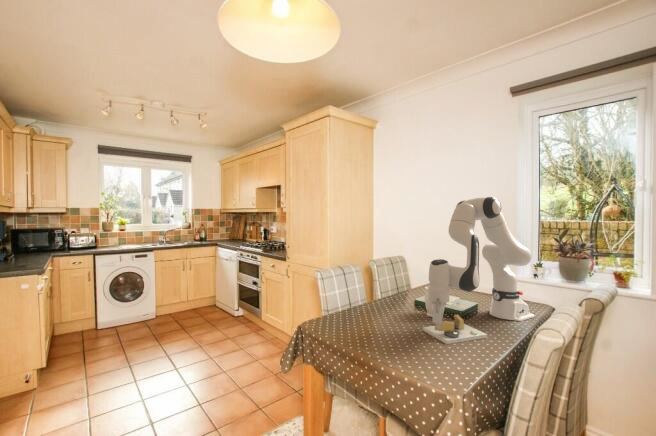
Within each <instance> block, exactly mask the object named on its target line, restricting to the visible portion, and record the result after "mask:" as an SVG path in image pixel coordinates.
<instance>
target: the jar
mask: <svg viewBox="0 0 656 436" xmlns="http://www.w3.org/2000/svg"><path fill="white" fill-rule="evenodd" d="M424 290H425V293H424V303H425V309H426V316H428V317H430V318H432V316H433V304H432V303H431V301H430V300H429V299H428V294H429V285H428V286H425V287H424Z"/></svg>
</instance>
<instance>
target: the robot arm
mask: <svg viewBox="0 0 656 436" xmlns="http://www.w3.org/2000/svg"><path fill="white" fill-rule="evenodd" d="M476 221H480V223H481V225H482V228H483V231H484V234H485V236H486V238H487V240H488V241H489V242H490V243H486V244H484V246H483V247H482V251H481V253H482V257H483V259H485V261H487V263H488V265H489V267H490V268H491V272H492V281H493V283H492V284H493V286H492V289H491V292H492V293H491V294H492V297H491V302H490V308H489V310H488V311H489V315H491V316H492V317H495V318H498V319H502V320H509V321H516V322H523V321H525V320H530V319H533V318H535V314H533V313H531V312H530V306H529V305H528V303H526V302H525V301H524V300H523V299H521V297H520V296H523V294H524V292H523V291H522V290H521V291H520V290H518V276H517V275H516V274H515V272H513V271H512V270H511V268H510V266H514V267H518V266H519V267H523V266H524V267H525V266H527V265H529V263H530V262H531V260H532V253H531V251H530V248H528V247H526V246H524V245H523V244H522V243H520V242H519V241H518V240H517V239H516V238H515V236H513V234H512V233H511V231H510V229H509V227H508V223H507V221H506V219H505V216H504V214H503V212H502V204H501V202H500V200H499V199H497V198H496V197H492V196H486V197H475V198H472V199H467V200H466V199H465V200H461V201H459V202H458V203H457V204H456V206H455V208H454V210H453V212H452V215H451V219H450V222H449V225H448V234H449V236H450V238H451V239H452V240H453V241H454V242H455V243H457V244H459V245H461V246H464V247H465V249H466V265H465V266H464V267H460V266H455V265H451V264H449V262H448V260H446V259H443V258H442V259H433V260H432V261H431V262H430V264H429V269H428V282H429V285H428V286H429V294H428V299H429V300H430V301H431V303H432V304H433V316H432V317H431V318H432V319H431V320H432V324H435V323H436V329H440V324H441V323H442V321H443V317H444V312H445V307H446V306H447V303H449V302H450V293H451V292H450V288H453V289H459V290H462V291H464V292H465V291H466V292H469V293H470V292H472V291H474V290H476V289H478V287H479V286H480V271H479V270H480V269H479V267H480V241H479V237H478V236H477V235H475V226H476Z"/></svg>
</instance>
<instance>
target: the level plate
mask: <svg viewBox="0 0 656 436" xmlns="http://www.w3.org/2000/svg"><path fill="white" fill-rule="evenodd" d="M454 330H457V331H458V332H459V337H457V338H452V337H448V336H445V335H444V331H438V330H435V325H431V326H423V327H422V331H424V332H425V333H427V334H428V335H430V336H431V337H433V338H435V339H436V340H439V341H440V342H442V343H444V344H446V345H451V344H452V345H453V344H457V343H463V342H470V341H476V340H482V339H487V338H488V333H486V332H483V331H481V330H479V329H476V328H475V327H473V326H471V325H468V324H467V323H466V324H465V323H464V329H454Z"/></svg>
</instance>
